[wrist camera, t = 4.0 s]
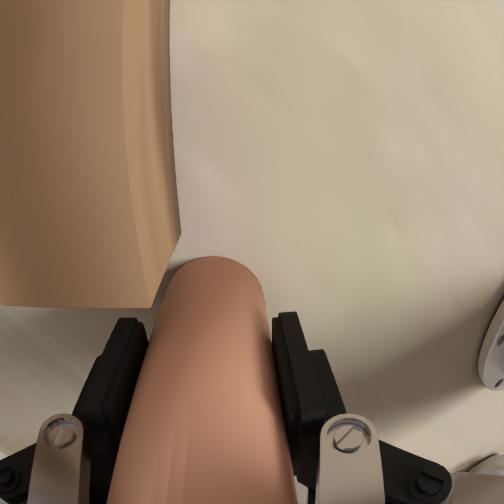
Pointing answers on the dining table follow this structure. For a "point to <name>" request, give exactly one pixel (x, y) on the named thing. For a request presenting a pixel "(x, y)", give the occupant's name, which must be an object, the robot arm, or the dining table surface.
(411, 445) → the dining table surface
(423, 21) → the dining table surface
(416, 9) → the dining table surface
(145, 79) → the socket board
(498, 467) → the teacup
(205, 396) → the peg
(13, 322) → the dining table surface
